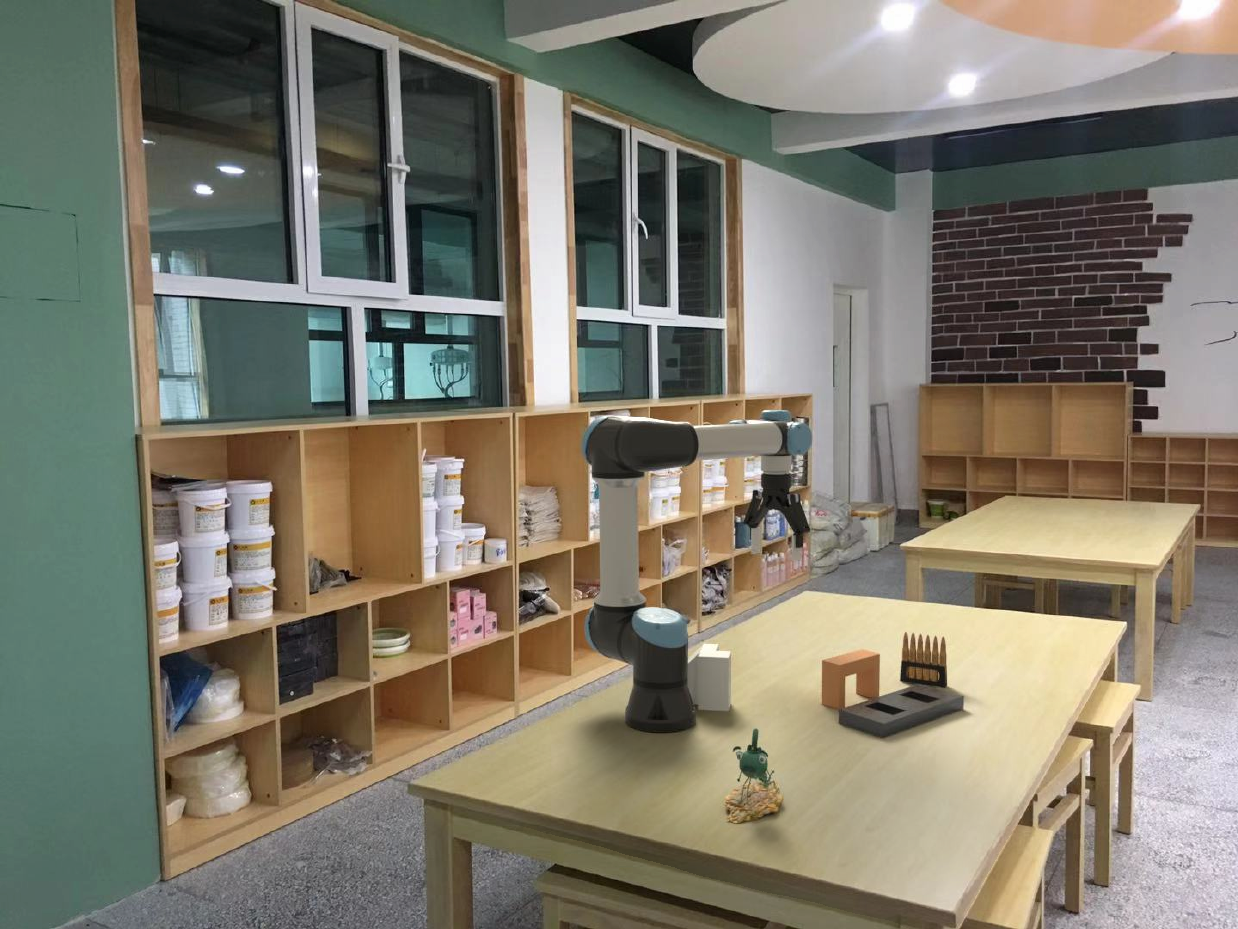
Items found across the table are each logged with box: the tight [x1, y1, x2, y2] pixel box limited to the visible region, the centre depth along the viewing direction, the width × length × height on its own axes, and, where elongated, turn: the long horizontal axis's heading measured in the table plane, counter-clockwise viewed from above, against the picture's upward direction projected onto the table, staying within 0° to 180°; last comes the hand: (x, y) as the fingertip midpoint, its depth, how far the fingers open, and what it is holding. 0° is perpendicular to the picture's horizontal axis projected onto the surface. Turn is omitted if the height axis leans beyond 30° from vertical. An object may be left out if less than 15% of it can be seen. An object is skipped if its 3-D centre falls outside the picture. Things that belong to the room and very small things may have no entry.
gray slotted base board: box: [838, 684, 965, 739], centre depth 225 cm, size 28×12×3 cm, turn 128°
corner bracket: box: [687, 643, 732, 712], centre depth 235 cm, size 11×11×12 cm
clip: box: [821, 648, 881, 710], centre depth 235 cm, size 14×5×10 cm, turn 128°
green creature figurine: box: [724, 728, 784, 824], centre depth 179 cm, size 10×18×15 cm, turn 145°
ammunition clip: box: [899, 631, 948, 689], centre depth 247 cm, size 11×2×12 cm, turn 59°
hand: (775, 557), depth 261 cm, fingers open, 13 cm apart
